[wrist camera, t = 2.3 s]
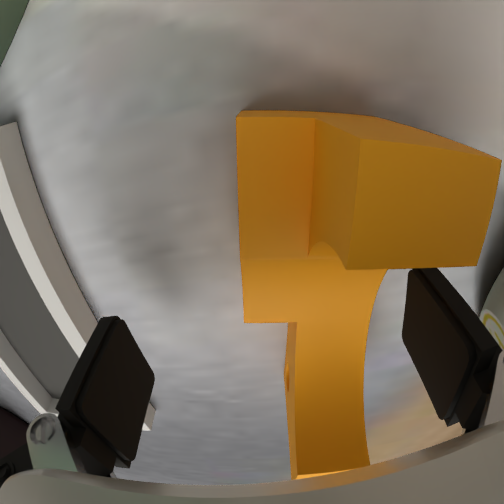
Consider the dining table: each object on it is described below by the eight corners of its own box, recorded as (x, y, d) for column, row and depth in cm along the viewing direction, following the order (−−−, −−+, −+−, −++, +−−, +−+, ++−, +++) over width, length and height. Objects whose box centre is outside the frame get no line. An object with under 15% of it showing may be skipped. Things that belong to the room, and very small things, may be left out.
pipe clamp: (241, 110, 9) (220, 135, 4) (372, 116, 9) (501, 160, 4) (248, 373, 15) (246, 491, 9) (333, 370, 15) (356, 483, 9)
